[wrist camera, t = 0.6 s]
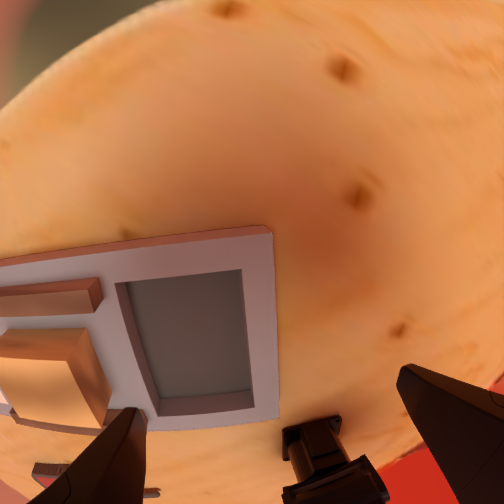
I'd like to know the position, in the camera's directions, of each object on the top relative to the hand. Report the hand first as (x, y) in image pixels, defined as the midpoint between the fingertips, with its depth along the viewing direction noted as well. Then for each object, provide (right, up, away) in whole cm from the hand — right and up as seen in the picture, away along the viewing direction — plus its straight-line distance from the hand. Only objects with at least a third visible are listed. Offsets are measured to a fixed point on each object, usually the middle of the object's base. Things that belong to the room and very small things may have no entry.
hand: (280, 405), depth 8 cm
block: (-16, -4, +9) cm, 19 cm away
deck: (-17, -3, +11) cm, 21 cm away
